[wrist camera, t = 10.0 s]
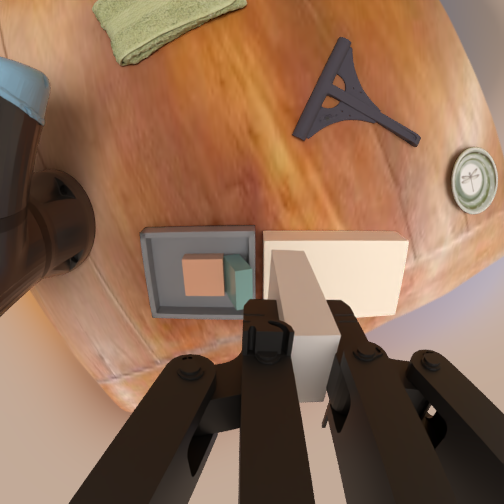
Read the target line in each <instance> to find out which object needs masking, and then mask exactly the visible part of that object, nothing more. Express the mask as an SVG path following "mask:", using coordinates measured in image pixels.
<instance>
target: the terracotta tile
mask: <svg viewBox="0 0 504 504" xmlns="http://www.w3.org/2000/svg"><path fill="white" fill-rule="evenodd" d="M223 256H224V253H206V254H185V255H184V256H183V258H182V267H183V276H184V285H185V294H186V296H225V277H224V257H223Z"/></svg>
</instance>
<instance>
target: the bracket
mask: <svg viewBox="0 0 504 504" xmlns="http://www.w3.org/2000/svg"><path fill="white" fill-rule="evenodd" d="M350 45H351V42H350V41H349V40H348V39H346V38H343V37H339V39H338V41H337V43H336V45H335V47H334V49H333V51H332V53H331V55H330V57H329V59H328V61H327V63H326V65H325V68H324V70H323V72H322V74H321V76H320V78H319V80H318V82H317V84H316V86H315V88H314V90H313V92H312V94H311V96H310V98H309V100H308V103H307V105H306V107H305V109H304V111H303V113H302V115H301V117H300V119H299V121H298V123H297V125H296V127H295V130H294V132H293V134H292V135H293V136H296V137H298V138H300V139H302V140H303V141H305V139H306V138H308V139H309V138H310V137H312V136H313V135H314V134H315V133H317V132H318V131H319V130H321V129H322V128H324V127H326V126H328V125H330V124H333V123H335V122H339V121H343V120H362V121H367V122H371V123H375V122H377V123H378V124H380V125H381V126H383V127H385V128H386V129H388V130H389V131H391V132H392V133H394V134H396V135H397V136H399V137H400V138H402V139H403V140H405V141H406V142H408V143H409V144H410V145H412V146H414V147H417V146H418V144H419V141H420V139H421V137H420V136H419V135H418V134H416V133H415V132H413V131H411V130H410V129H408V128H406V127H405V126H403V125H401V124H400V123H398V122H396V121H394V120H393V119H391V118H389V117H388V116H386V115H384V114H382V113H381V112H380V110H379V109H378V107H377V106H376V105H375V104H374V103H373V102H372V101H371V100H370V99H369V97H368V96H367V95H366V93H365V92H364V90H363V89H362V87H361V85H360V82H359V80H358V78H357V75H356V72H355V68H354V63H353V54H352V48H351V47H350ZM336 74H338V75H339V76H340V77H341V78H342V79H343V81H344V83H345V91H343V90H342V89H340V88H338V87H336V86H335V85H333V81H334V79H335V76H336ZM360 92H361V93H360ZM326 96H330V97H333V98H335V99H337V100H338V101H340V103H339V104H338V105H337V106H336V107H334V108H323V107H321V106H322V103H323V101H324V99H325V98H326ZM349 115H350V116H349Z"/></svg>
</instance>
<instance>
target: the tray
mask: <svg viewBox="0 0 504 504" xmlns="http://www.w3.org/2000/svg"><path fill="white" fill-rule="evenodd" d="M140 241H141V249H142V256H143V263H144V270H145V277H146V283H147V289H148V295H149V301H150V307H151V312H152V318H177V319H243V311H244V309H241V310H236V309H235V307H234V305H233V304H232V302H231V300H230V299H229V297H228V295H227V294H226V292H225V296H186V294H185V285H184V276H183V267H182V258H183V256H184V255H185V254H206V253H224V256H226V255H233V254H240V256H241V257H242V258H243V259H244V260H245V261H246V262H247V263H248V265H249V266H250V267H251V268H252V286H253V299H255V225H228V226H174V227H146V228H144V229H143V230H142V231H141V232H140Z"/></svg>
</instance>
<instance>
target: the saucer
mask: <svg viewBox="0 0 504 504" xmlns="http://www.w3.org/2000/svg"><path fill="white" fill-rule="evenodd" d="M497 185H498V175H497V169H496V165H495V163H494V161H493V159H492V157H491V156H490V154H489V153H488V152H487V151H485V150H484V149H482V148H479V147H471V148H468V149H466V150H465V151H463V152H462V153H461V154H460V155H459V157H458V158H457V160H456V162H455V164H454V167H453V171H452V177H451V187H452V193H453V197H454V199H455V201H456V203H457V205H458V206H459V207H460V208H461V209H462V210H463V211H464V212H466V213H469V214H478V213H481V212H483V211H484V210H486V209H487V208H488V207H489V205H490V204H491V203H492V201H493V199H494V197H495V194H496V190H497Z"/></svg>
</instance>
